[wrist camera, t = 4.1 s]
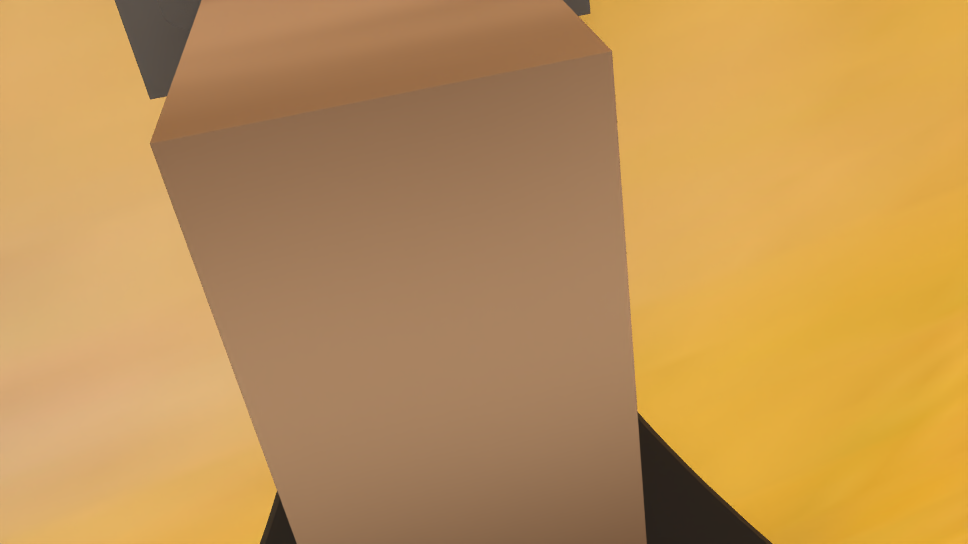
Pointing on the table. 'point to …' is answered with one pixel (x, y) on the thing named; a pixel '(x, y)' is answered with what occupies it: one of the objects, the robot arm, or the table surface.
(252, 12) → the slat
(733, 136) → the table surface
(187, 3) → the end cap
